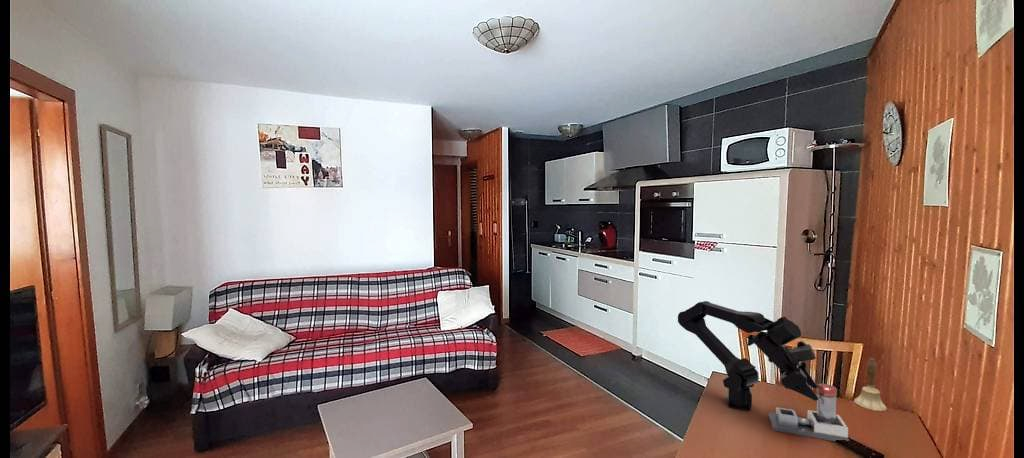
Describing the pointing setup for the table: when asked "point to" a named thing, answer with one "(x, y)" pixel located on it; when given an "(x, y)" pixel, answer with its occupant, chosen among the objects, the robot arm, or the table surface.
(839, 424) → the desk organizer
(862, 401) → the hand bell
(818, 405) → the grey jar
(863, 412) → the table surface
